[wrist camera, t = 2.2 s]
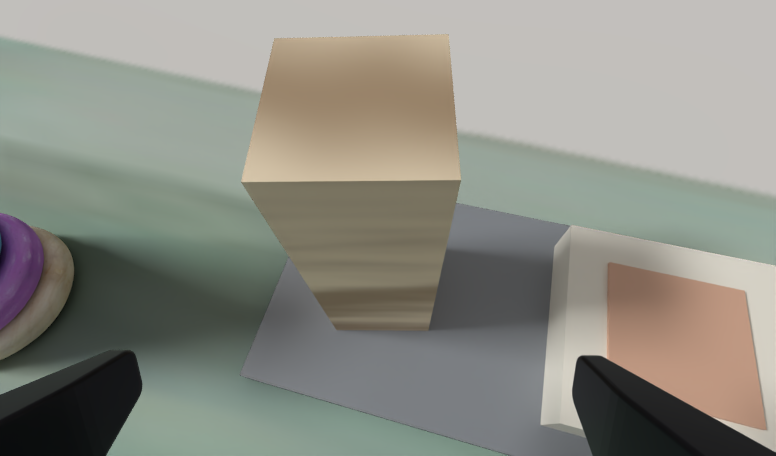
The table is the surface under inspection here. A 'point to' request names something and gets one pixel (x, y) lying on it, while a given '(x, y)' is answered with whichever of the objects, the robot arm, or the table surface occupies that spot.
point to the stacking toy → (30, 282)
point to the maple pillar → (360, 171)
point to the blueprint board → (539, 336)
